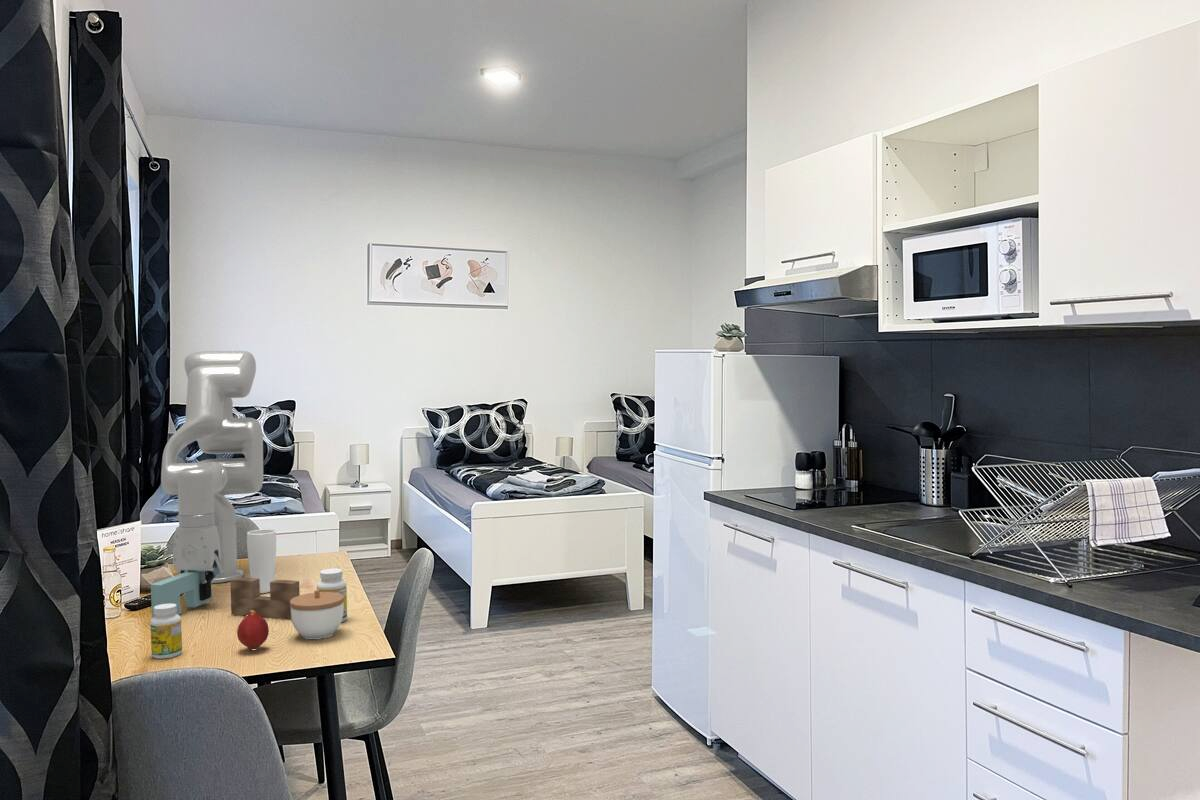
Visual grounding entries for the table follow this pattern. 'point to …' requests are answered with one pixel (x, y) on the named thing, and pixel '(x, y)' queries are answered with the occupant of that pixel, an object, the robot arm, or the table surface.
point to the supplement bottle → (166, 632)
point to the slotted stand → (263, 597)
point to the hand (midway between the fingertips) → (199, 597)
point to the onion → (253, 630)
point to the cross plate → (178, 591)
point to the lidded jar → (317, 613)
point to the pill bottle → (334, 585)
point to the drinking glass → (262, 556)
